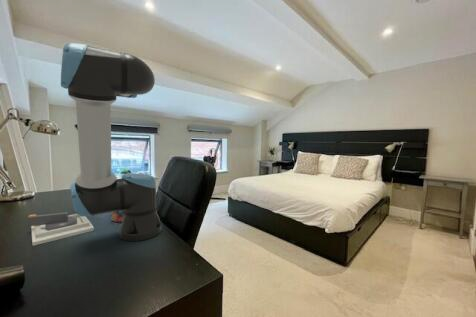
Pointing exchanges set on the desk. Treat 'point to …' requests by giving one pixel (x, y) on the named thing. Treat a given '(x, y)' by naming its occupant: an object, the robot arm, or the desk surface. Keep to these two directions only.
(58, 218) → the dial
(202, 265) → the desk surface
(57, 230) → the panel
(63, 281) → the desk surface
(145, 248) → the desk surface
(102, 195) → the robot arm
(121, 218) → the mug
